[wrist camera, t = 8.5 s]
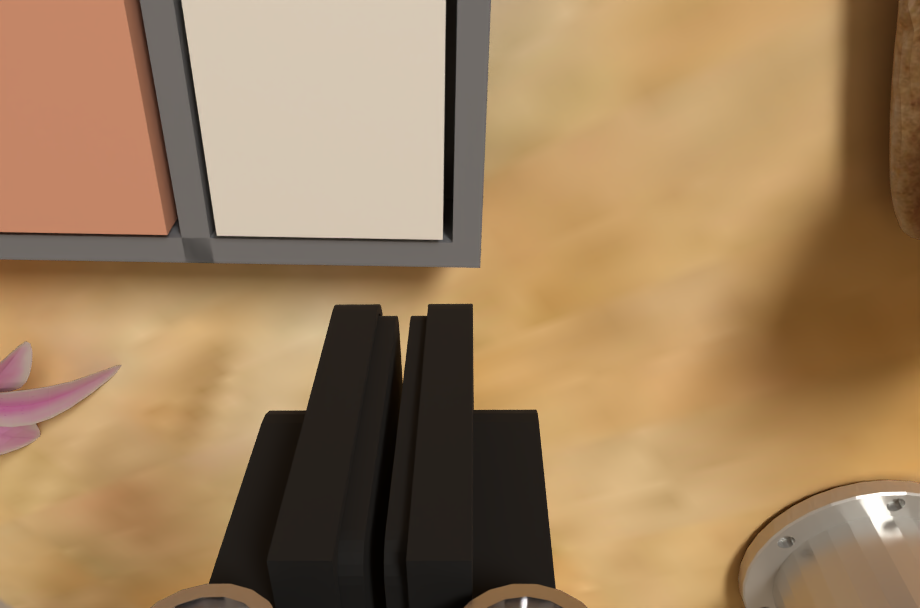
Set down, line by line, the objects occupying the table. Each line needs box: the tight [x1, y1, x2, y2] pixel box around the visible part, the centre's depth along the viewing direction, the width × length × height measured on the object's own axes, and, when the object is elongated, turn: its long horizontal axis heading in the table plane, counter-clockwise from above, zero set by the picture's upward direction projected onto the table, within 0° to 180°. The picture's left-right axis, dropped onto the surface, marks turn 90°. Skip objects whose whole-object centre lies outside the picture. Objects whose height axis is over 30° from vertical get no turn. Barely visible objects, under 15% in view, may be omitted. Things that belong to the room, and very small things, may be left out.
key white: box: [181, 0, 446, 240], centre depth 28 cm, size 8×8×2 cm
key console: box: [0, 0, 491, 268], centre depth 29 cm, size 11×20×4 cm, turn 89°
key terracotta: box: [0, 0, 178, 235], centre depth 28 cm, size 8×8×2 cm
